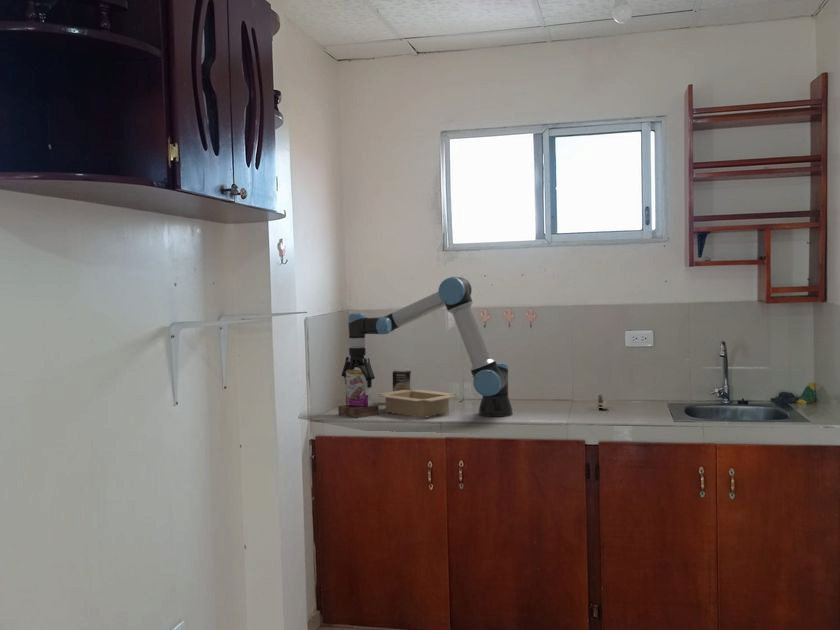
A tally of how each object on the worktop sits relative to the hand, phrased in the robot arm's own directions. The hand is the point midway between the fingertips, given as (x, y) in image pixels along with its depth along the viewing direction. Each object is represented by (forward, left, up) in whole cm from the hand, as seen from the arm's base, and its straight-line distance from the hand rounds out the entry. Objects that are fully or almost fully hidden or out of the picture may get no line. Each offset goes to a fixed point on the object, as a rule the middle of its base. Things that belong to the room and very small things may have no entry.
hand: (358, 393), depth 346 cm
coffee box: (+7, -35, -10) cm, 37 cm away
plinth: (0, 0, -10) cm, 10 cm away
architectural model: (-78, -80, -10) cm, 112 cm away
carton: (-17, -21, -10) cm, 29 cm away
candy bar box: (0, 0, -6) cm, 6 cm away
